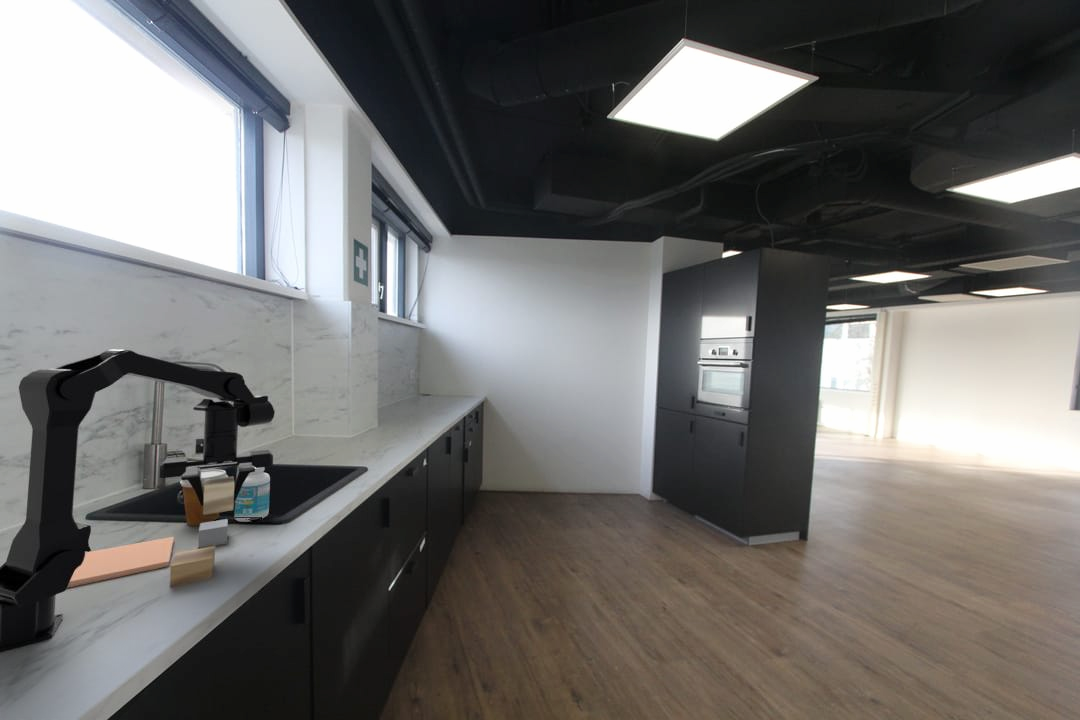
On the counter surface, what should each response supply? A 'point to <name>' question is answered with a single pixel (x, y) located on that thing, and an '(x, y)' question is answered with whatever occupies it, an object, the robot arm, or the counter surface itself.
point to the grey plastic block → (212, 533)
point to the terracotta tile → (123, 561)
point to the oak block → (192, 566)
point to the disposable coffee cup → (191, 499)
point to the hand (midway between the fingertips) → (218, 503)
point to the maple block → (218, 495)
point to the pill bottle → (253, 496)
